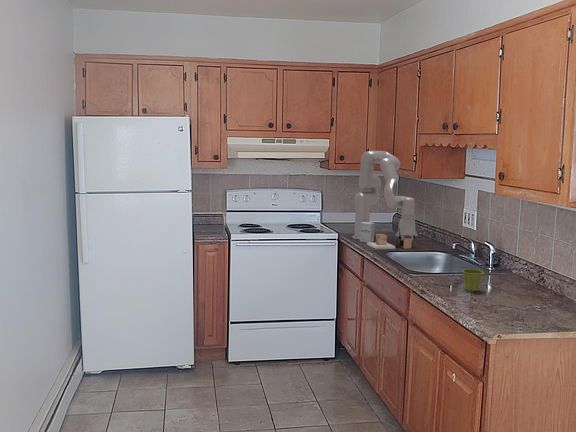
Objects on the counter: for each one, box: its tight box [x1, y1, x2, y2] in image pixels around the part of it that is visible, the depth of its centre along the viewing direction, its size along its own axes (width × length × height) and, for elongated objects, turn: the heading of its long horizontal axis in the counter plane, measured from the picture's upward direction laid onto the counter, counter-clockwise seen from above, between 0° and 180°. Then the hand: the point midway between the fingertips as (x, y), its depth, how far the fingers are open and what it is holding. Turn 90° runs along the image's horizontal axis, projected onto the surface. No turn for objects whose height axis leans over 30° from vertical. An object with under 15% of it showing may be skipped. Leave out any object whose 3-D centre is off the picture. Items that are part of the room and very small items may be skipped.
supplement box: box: [359, 221, 376, 244], centre depth 398 cm, size 7×7×13 cm
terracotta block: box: [401, 236, 413, 249], centre depth 381 cm, size 5×5×6 cm
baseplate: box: [366, 241, 396, 250], centre depth 382 cm, size 14×13×2 cm
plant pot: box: [461, 268, 484, 292], centre depth 278 cm, size 9×9×9 cm
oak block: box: [375, 233, 388, 245], centre depth 382 cm, size 5×5×6 cm
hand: (406, 246), depth 382 cm, fingers closed on terracotta block, 4 cm apart
